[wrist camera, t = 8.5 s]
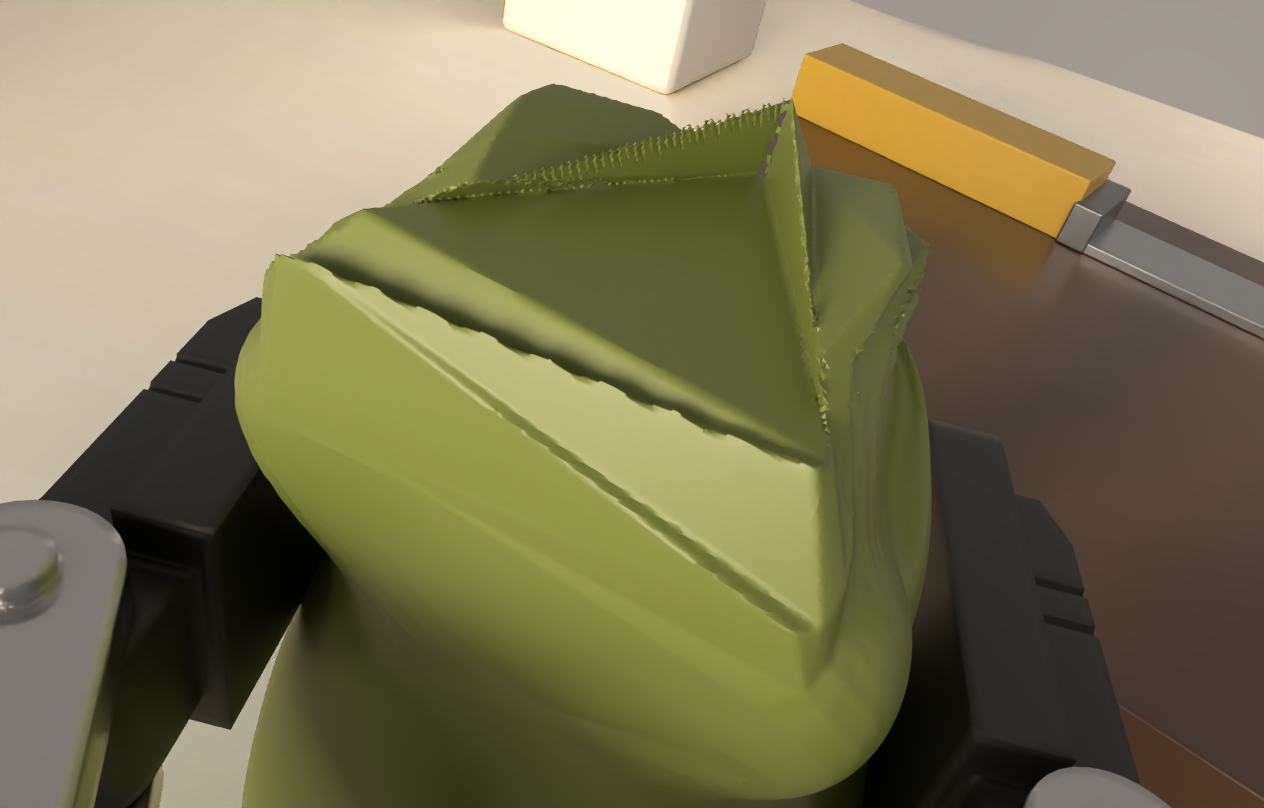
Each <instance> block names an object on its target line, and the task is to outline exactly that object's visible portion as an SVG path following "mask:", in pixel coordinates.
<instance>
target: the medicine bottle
mask: <svg viewBox="0 0 1264 808" xmlns="http://www.w3.org/2000/svg"><path fill="white" fill-rule="evenodd" d="M766 1H767V0H504V9H503V17H502V18H503V24H504V26H505V27H506V28H507V29H508V30H510V31H513V32H515V33H517V34H520V35H522V36H525V37H527V38H529V39H532V40H534V41H537V42H539V43H541V44H544V45H546V46H549V47H551V48H553V49H556V50H558V51H561V52H563V53H565V54H568V55H570V56H573V57H575V58H577V59H580V60H582V61H585V62H587V63H589V64H592V65H594V66H597V67H599V68H601V69H604V70H606V71H609V72H611V73H613V74H616V75H618V76H620V77H623V78H625V79H628V80H630V81H632V82H635V83H637V84H640V85H642V86H644V87H647V88H649V89H652V90H654V91H656V92H659V93H661V94H665V95H667V94H670V93H672V92H674V91H677V90H679V89H681V88H683V87H685V86H687V85H689V84H691V83H693V82H695V81H697V80H699V79H701V78H703V77H706V76H708V75H710V74H712V73H714V72H716V71H718V70H720V69H722V68H724V67H726V66H728V65H730V64H732V63H735V62H737V61H739V60H741V59H743V58H745V57H747V56H749V55H750V54H751V52H752V50H753V48H754V44H755V40H756V37H757V33H758V30H759V26H760V22H761V19H762V15H763V12H764V8H765V4H766Z"/></svg>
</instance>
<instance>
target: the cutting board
mask: <svg viewBox="0 0 1264 808" xmlns="http://www.w3.org/2000/svg"><path fill="white" fill-rule="evenodd" d="M790 101H791V100H788V101H785V103H786V104H789V103H790ZM782 104H783V102H782V103H780V104H778V105H777V107H780V106H781V105H782ZM774 106H775V105H774ZM774 106H771V107H774ZM775 108H776V107H774V108H773V109H772V110H774V109H775ZM760 111H761V110H759V111H757V112H759V114H758V115H760V114H761V112H760ZM786 112H787V111H784V112H783V113H781V114H780V115H779V117H778V120H777V126H778V127H781V126H782V122H783V120H784V118H785V116H786ZM797 116H798V115H797ZM740 118H741V117H739V118H738V119H737V120H739V119H740ZM798 120H799V123H800V127H801V130H802V135H803V138H804V141H805V145H806V147H807V152H808V155H809V159H810V162H811V165H812V166H813V167H818V168H823V169H827V170H832V171H836V172H841V173H846V174H850V175H856V176H859V177H865V178H868V179H872V180H877V181H881V182H884V183H890V184H892V185H893V187H894V189H897V190H896V192H897V193H898V197H899V202H900V206H901V211H902V216H903V221H904V225H905V226H906V225H908V226H909V227H910V228H911V230H912V231H913V233H914V232H915V233H916V234H917V235H918V237H919V238H920V239H921V240H922V239H923V240H924V242H925V243H926V244H929V249H930V251H929V253H928V256H927V259H926V262H927V264H926V267H925V270H926V273H925V276H924V278H923V280H922V281H921V283H920V284H919V286H918V289H919V290H920V289H921V291H920V294H919V298H920V300H919V302H918V305H917V307H916V309H915V311H914V313H913V315H912V317H911V319H910V320H909V322H908V323H907V327H906V330H905V333H904V336H903V338H904V341H905V342H906V343H907V346H908V348H909V349H910V352H911V354H912V357H913V358H914V361H915V364H916V367H917V370H918V373H919V376H920V380H921V383H922V387H923V393H924V398H925V403H926V410H927V418H930V419H934V420H937V421H941V422H945V423H949V424H953V425H957V426H961V427H965V428H968V429H972V430H976V431H980V432H984V433H988V434H992V435H996V436H998V437H999V438H1000V439H1001V441H1002V443H1003V446H1004V450H1005V454H1006V458H1007V463H1008V467H1009V471H1010V476H1011V480H1012V484H1013V488H1014V493H1015V494H1017V495H1021V496H1025V497H1029V498H1032V499H1036V500H1040V501H1041V503H1042V504H1043V505H1044V507H1045V508H1046V509H1047V511H1048V512H1049V514H1050V515H1051V516H1052V518H1053V519H1054V520H1055V522H1056V523H1057V524H1058V526H1059V527H1060V529H1061V530H1062V531H1063V533H1064V534H1065V535H1066V537H1067V538H1068V539H1069V541H1070V542H1071V544H1072V546H1073V549H1074V553H1075V556H1076V560H1077V563H1078V567H1079V570H1080V574H1081V577H1082V581H1083V584H1084V588H1085V590H1084V593H1083V598H1087V599H1088V602H1089V605H1090V609H1091V612H1092V616H1093V619H1094V623H1095V626H1096V628H1095V630H1094V636H1097V637H1099V640H1100V644H1101V647H1102V651H1103V654H1104V658H1105V661H1106V665H1107V668H1108V672H1109V675H1110V679H1111V682H1112V686H1113V689H1114V693H1115V696H1116V700H1117V703H1118V707H1119V710H1120V714H1121V717H1122V721H1123V724H1124V728H1125V731H1126V735H1127V738H1128V742H1129V745H1130V749H1131V752H1132V756H1133V759H1134V763H1135V766H1136V770H1137V773H1138V777H1139V780H1140V783H1141V786H1142V787H1143V788H1145V789H1147V790H1148V791H1150V792H1151V793H1153V794H1155V795H1156V796H1157V797H1159V798H1160V799H1161V800H1162V801H1164V802H1165V803H1166V804H1168V805H1169V806H1170V807H1171V808H1264V339H1262V338H1260V337H1258V336H1256V335H1254V334H1252V333H1250V332H1248V331H1245V330H1243V329H1241V328H1239V327H1237V326H1235V325H1233V324H1231V323H1229V322H1227V321H1224V320H1222V319H1220V318H1218V317H1216V316H1214V315H1212V314H1210V313H1208V312H1206V311H1203V310H1201V309H1199V308H1197V307H1195V306H1193V305H1191V304H1189V303H1187V302H1185V301H1183V300H1180V299H1178V298H1176V297H1174V296H1172V295H1170V294H1168V293H1166V292H1164V291H1162V290H1159V289H1157V288H1155V287H1153V286H1151V285H1149V284H1147V283H1145V282H1143V281H1141V280H1138V279H1136V278H1134V277H1132V276H1130V275H1128V274H1126V273H1124V272H1122V271H1120V270H1117V269H1115V268H1113V267H1111V266H1109V265H1107V264H1105V263H1103V262H1101V261H1099V260H1096V259H1094V258H1092V257H1090V256H1088V255H1086V254H1084V253H1079V252H1077V251H1075V250H1073V249H1071V248H1069V247H1067V246H1065V245H1063V244H1060V243H1058V242H1056V238H1054V237H1052V236H1050V235H1048V234H1046V233H1044V232H1042V231H1039V230H1037V229H1035V228H1033V227H1031V226H1029V225H1027V224H1025V223H1023V222H1021V221H1018V220H1016V219H1014V218H1012V217H1010V216H1008V215H1006V214H1004V213H1002V212H1000V211H997V210H995V209H993V208H991V207H989V206H987V205H985V204H983V203H981V202H979V201H976V200H974V199H972V198H970V197H968V196H966V195H964V194H962V193H960V192H957V191H955V190H953V189H951V188H949V187H947V186H945V185H943V184H941V183H939V182H936V181H934V180H932V179H930V178H928V177H926V176H924V175H922V174H920V173H918V172H915V171H913V170H911V169H909V168H907V167H905V166H903V165H901V164H899V163H897V162H894V161H892V160H890V159H888V158H886V157H884V156H882V155H880V154H878V153H875V152H873V151H871V150H869V149H867V148H865V147H863V146H861V145H859V144H857V143H854V142H852V141H850V140H848V139H846V138H844V137H842V136H840V135H838V134H836V133H833V132H831V131H829V130H827V129H825V128H823V127H821V126H819V125H817V124H815V123H812V122H810V121H808V120H806V119H804V118H802V117H800V116H798ZM725 123H726V122H725ZM725 123H723V124H722V125H724V124H725ZM716 126H718V125H716ZM702 131H703V130H702ZM773 136H774V137H773V140H772V141H771V142H770V143H769V145H768V148H767V151H766V152H767V154H769V155H771V156H772V153H773V148H774V147H776V145H777V141H778V136H779V134H778V133H776V132H775V134H774V135H773ZM771 160H772V159H771ZM767 167H768V163H767V161H766V160H765V161H762V162H761V164H760V167H759V174H760V175H761V176H763V177H766V176H767V174H768V172H767V174H766V173H765V171H766V168H767ZM1116 220H1118V221H1120V222H1122V223H1125V224H1127V225H1129V226H1131V227H1133V228H1136V229H1138V230H1140V231H1142V232H1144V233H1147V234H1149V235H1151V236H1153V237H1155V238H1158V239H1160V240H1162V241H1164V242H1166V243H1169V244H1171V245H1173V246H1175V247H1177V248H1180V249H1182V250H1184V251H1186V252H1188V253H1190V254H1193V255H1195V256H1197V257H1199V258H1201V259H1204V260H1206V261H1208V262H1210V263H1212V264H1215V265H1217V266H1219V267H1221V268H1223V269H1226V270H1228V271H1230V272H1232V273H1234V274H1237V275H1239V276H1241V277H1243V278H1245V279H1248V280H1250V281H1252V282H1254V283H1256V284H1259V285H1261V286H1263V287H1264V263H1263V262H1261V261H1259V260H1256V259H1254V258H1252V257H1250V256H1247V255H1245V254H1243V253H1241V252H1238V251H1236V250H1234V249H1232V248H1229V247H1227V246H1225V245H1223V244H1221V243H1218V242H1216V241H1214V240H1212V239H1209V238H1207V237H1205V236H1203V235H1200V234H1198V233H1196V232H1194V231H1191V230H1189V229H1187V228H1185V227H1182V226H1180V225H1178V224H1176V223H1173V222H1171V221H1169V220H1167V219H1165V218H1162V217H1160V216H1158V215H1156V214H1153V213H1151V212H1149V211H1147V210H1144V209H1142V208H1140V207H1138V206H1135V205H1133V204H1131V203H1129V202H1126V201H1125V203H1124V205H1123V207H1122V208H1121V210H1120V212H1119V214H1118V215H1117V217H1116Z"/></svg>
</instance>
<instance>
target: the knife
mask: <svg viewBox="0 0 1264 808" xmlns="http://www.w3.org/2000/svg"><path fill="white" fill-rule="evenodd" d="M791 99H793V102H794V106H795V109H796V113H797V115H798V116H800V117H802V118H804V119H806V120H808V121H810V122H812V123H815V124H817V125H819V126H821V127H823V128H825V129H827V130H829V131H831V132H833V133H836V134H838V135H840V136H842V137H844V138H846V139H848V140H850V141H852V142H854V143H857V144H859V145H861V146H863V147H865V148H867V149H869V150H871V151H873V152H875V153H878V154H880V155H882V156H884V157H886V158H888V159H890V160H892V161H894V162H897V163H899V164H901V165H903V166H905V167H907V168H909V169H911V170H913V171H915V172H918V173H920V174H922V175H924V176H926V177H928V178H930V179H932V180H934V181H936V182H939V183H941V184H943V185H945V186H947V187H949V188H951V189H953V190H955V191H957V192H960V193H962V194H964V195H966V196H968V197H970V198H972V199H974V200H976V201H979V202H981V203H983V204H985V205H987V206H989V207H991V208H993V209H995V210H997V211H1000V212H1002V213H1004V214H1006V215H1008V216H1010V217H1012V218H1014V219H1016V220H1018V221H1021V222H1023V223H1025V224H1027V225H1029V226H1031V227H1033V228H1035V229H1037V230H1039V231H1042V232H1044V233H1046V234H1048V235H1050V236H1052V237H1054V238H1056V242H1058V243H1060V244H1063V245H1065V246H1067V247H1069V248H1071V249H1073V250H1075V251H1077V252H1079V253H1084V254H1086V255H1088V256H1090V257H1092V258H1094V259H1096V260H1099V261H1101V262H1103V263H1105V264H1107V265H1109V266H1111V267H1113V268H1115V269H1117V270H1120V271H1122V272H1124V273H1126V274H1128V275H1130V276H1132V277H1134V278H1136V279H1138V280H1141V281H1143V282H1145V283H1147V284H1149V285H1151V286H1153V287H1155V288H1157V289H1159V290H1162V291H1164V292H1166V293H1168V294H1170V295H1172V296H1174V297H1176V298H1178V299H1180V300H1183V301H1185V302H1187V303H1189V304H1191V305H1193V306H1195V307H1197V308H1199V309H1201V310H1203V311H1206V312H1208V313H1210V314H1212V315H1214V316H1216V317H1218V318H1220V319H1222V320H1224V321H1227V322H1229V323H1231V324H1233V325H1235V326H1237V327H1239V328H1241V329H1243V330H1245V331H1248V332H1250V333H1252V334H1254V335H1256V336H1258V337H1260V338H1262V339H1264V287H1263V286H1261V285H1259V284H1256V283H1254V282H1252V281H1250V280H1248V279H1245V278H1243V277H1241V276H1239V275H1237V274H1234V273H1232V272H1230V271H1228V270H1226V269H1223V268H1221V267H1219V266H1217V265H1215V264H1212V263H1210V262H1208V261H1206V260H1204V259H1201V258H1199V257H1197V256H1195V255H1193V254H1190V253H1188V252H1186V251H1184V250H1182V249H1180V248H1177V247H1175V246H1173V245H1171V244H1169V243H1166V242H1164V241H1162V240H1160V239H1158V238H1155V237H1153V236H1151V235H1149V234H1147V233H1144V232H1142V231H1140V230H1138V229H1136V228H1133V227H1131V226H1129V225H1127V224H1125V223H1122V222H1120V221H1118V220H1116V217H1117V215H1118V214H1119V212H1120V210H1121V208H1122V207H1123V205H1124V203H1125V201H1126V200H1127V198H1128V196H1129V194H1130V192H1131V190H1130V189H1128V188H1126V187H1124V186H1122V185H1119V184H1117V183H1115V182H1112V181H1110V180H1108V179H1107V178H1108V176H1109V175H1110V173H1111V171H1112V169H1113V167H1114V165H1115V163H1116V162H1115V161H1114V160H1112V159H1110V158H1107V157H1105V156H1103V155H1100V154H1098V153H1096V152H1093V151H1091V150H1089V149H1086V148H1084V147H1082V146H1079V145H1077V144H1075V143H1073V142H1070V141H1068V140H1066V139H1063V138H1061V137H1059V136H1056V135H1054V134H1052V133H1049V132H1047V131H1045V130H1042V129H1040V128H1038V127H1035V126H1033V125H1031V124H1028V123H1026V122H1024V121H1022V120H1019V119H1017V118H1015V117H1012V116H1010V115H1008V114H1005V113H1003V112H1001V111H998V110H996V109H994V108H991V107H989V106H987V105H984V104H982V103H980V102H977V101H975V100H973V99H971V98H968V97H966V96H964V95H961V94H959V93H957V92H954V91H952V90H950V89H947V88H945V87H943V86H940V85H938V84H936V83H933V82H931V81H929V80H926V79H924V78H922V77H920V76H917V75H915V74H913V73H910V72H908V71H906V70H903V69H901V68H899V67H896V66H894V65H892V64H889V63H887V62H885V61H882V60H880V59H878V58H875V57H873V56H871V55H868V54H866V53H864V52H862V51H859V50H857V49H855V48H852V47H850V46H848V45H845V44H839V45H835V46H832V47H828V48H825V49H821V50H818V51H814V52H811V53H807V54H805V56H804V59H803V62H802V66H801V69H800V72H799V75H798V78H797V82H796V85H795V88H794V91H793V95H792V98H791ZM790 102H791V101H790Z"/></svg>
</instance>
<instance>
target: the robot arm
mask: <svg viewBox="0 0 1264 808" xmlns="http://www.w3.org/2000/svg"><path fill="white" fill-rule="evenodd" d="M261 309H262V299H261V298H258V297H256V298H254V299H252V300H250V301H248V302H246V303H244V304H241V305H239V306H237V307H235V308H233V309H231V310H229V311H227V312H225V313H223V314H221V315H219V316H217V317H214V318H212V319H210V320H208V321H207V322H206V324H205V325H204V326H203V327H202V328H201V329H200V330H199V331H198V332H197V333H196V334H195V335H194V336H193V337H192V338H191V339H190V340H189V342H188V343H187V344H186V345H185V346H184V347H183V348H182V349H181V350H180V351H179V352H178V353H177V358H176V360H175V362H174V361H170V362H169V363H168V364H167V365H166V366H165V367H164V368H163V369H162V370H161V371H160V372H159V373H158V374H157V375H156V377H155V378H154V379H153V380H152V381H151V384H150V388H149V389H148V390H145V389H143V390H142V391H141V392H140V394H139V395H138V396H137V397H136V398H135V399H134V400H133V401H132V402H131V403H130V404H129V405H128V406H127V407H126V408H125V409H124V411H123V412H122V413H121V414H120V415H119V416H118V417H117V418H116V419H115V420H114V421H113V422H112V423H111V424H110V425H109V426H108V427H107V429H106V430H105V431H104V432H103V433H102V434H101V435H100V436H99V437H98V438H97V439H96V440H95V441H94V442H93V443H92V444H91V446H90V447H89V448H88V449H87V450H86V451H85V452H84V453H83V454H82V455H81V456H80V457H79V458H78V459H77V460H76V461H75V462H74V464H73V465H72V466H71V467H70V468H69V469H68V470H67V471H66V472H65V473H64V474H63V475H62V476H61V477H60V478H59V479H58V481H57V482H56V483H55V484H54V485H53V486H52V487H51V488H50V489H49V490H48V491H47V492H46V493H45V494H44V495H43V496H42V497H41V498H40V499H39V500H27V501H14V502H8V503H2V504H0V808H159V807H160V801H161V794H162V788H163V767H162V763H163V762H164V760H165V758H166V757H167V755H168V754H169V752H170V750H171V749H172V747H173V745H174V744H175V742H176V740H177V739H178V737H179V735H180V734H181V732H182V730H183V729H184V727H185V725H186V724H187V722H188V720H189V719H191V720H195V721H199V722H203V723H206V724H210V725H214V726H218V727H222V728H226V729H230V730H231V728H232V726H233V724H234V723H235V721H236V719H237V717H238V715H239V714H240V712H241V710H242V708H243V706H244V705H245V703H246V701H247V699H248V697H249V696H250V694H251V692H252V690H253V688H254V687H255V685H256V683H257V681H258V679H259V678H260V676H261V674H262V672H263V671H264V669H265V667H266V665H267V663H268V662H269V660H270V658H271V656H272V654H273V653H274V651H275V649H276V647H277V645H278V644H279V642H280V640H281V638H282V636H283V635H284V633H285V631H286V629H287V627H288V626H289V624H290V622H291V620H292V619H293V617H294V615H295V613H296V611H297V610H298V608H299V606H300V604H301V602H302V600H303V597H304V595H305V592H306V590H307V588H308V585H309V583H310V581H311V579H312V577H313V575H314V573H315V571H316V570H317V568H318V566H319V565H320V563H321V561H322V560H323V558H324V557H325V555H326V552H325V550H324V549H323V548H322V547H321V546H320V545H319V543H318V542H317V541H316V540H315V539H314V538H313V537H312V535H311V534H310V533H309V532H308V530H307V529H306V528H305V527H304V526H303V525H302V524H301V523H300V522H299V521H298V519H297V518H296V517H295V515H294V514H293V513H292V511H291V510H290V509H289V508H288V507H287V505H286V504H285V503H284V502H283V501H282V499H281V498H280V497H279V495H278V494H277V492H276V490H275V489H274V487H273V485H272V484H271V482H270V481H269V480H268V479H267V478H266V477H265V476H264V474H263V472H262V471H261V469H260V467H259V465H258V464H257V462H256V461H255V459H254V457H253V455H252V453H251V451H250V448H249V446H248V443H247V440H246V438H245V436H244V434H243V431H242V428H241V426H240V423H239V420H238V416H237V412H236V409H235V385H234V381H235V372H236V365H237V363H238V358H239V354H240V352H241V349H242V347H243V345H244V343H245V341H246V339H247V337H248V335H249V333H250V331H251V330H252V329H253V327H254V326H255V325H256V323H257V322H258V321H259V320H260V318H261ZM928 427H929V440H930V457H931V480H932V515H931V532H930V543H929V552H928V560H927V567H926V573H925V579H924V584H923V589H922V593H921V598H920V602H919V605H918V609H917V613H916V616H915V619H914V622H913V626H912V657H911V666H910V673H909V678H908V683H907V688H906V691H905V695H904V698H903V701H902V704H901V707H900V710H899V712H898V715H897V717H896V719H895V721H894V723H893V725H892V727H891V729H890V731H889V733H888V734H887V736H886V737H885V739H884V740H883V742H882V743H881V745H880V746H879V748H878V749H877V750H876V751H875V753H874V754H873V755H872V756H871V757H870V758H869V759H868V763H867V774H866V782H865V790H864V796H863V802H862V808H1171V807H1170V806H1169V805H1168V804H1166V803H1165V802H1164V801H1162V800H1161V799H1160V798H1159V797H1157V796H1156V795H1155V794H1153V793H1151V792H1150V791H1148V790H1147V789H1145V788H1143V787H1142V786H1141V783H1140V780H1139V777H1138V773H1137V770H1136V766H1135V763H1134V759H1133V756H1132V752H1131V749H1130V745H1129V742H1128V738H1127V735H1126V731H1125V728H1124V724H1123V721H1122V717H1121V714H1120V710H1119V707H1118V703H1117V700H1116V696H1115V693H1114V689H1113V686H1112V682H1111V679H1110V675H1109V672H1108V668H1107V665H1106V661H1105V658H1104V654H1103V651H1102V647H1101V644H1100V640H1099V637H1097V636H1094V630H1095V628H1096V626H1095V623H1094V619H1093V616H1092V612H1091V609H1090V605H1089V602H1088V599H1087V598H1083V593H1084V590H1085V588H1084V584H1083V581H1082V577H1081V574H1080V570H1079V567H1078V563H1077V560H1076V556H1075V553H1074V549H1073V546H1072V544H1071V542H1070V541H1069V539H1068V538H1067V537H1066V535H1065V534H1064V533H1063V531H1062V530H1061V529H1060V527H1059V526H1058V524H1057V523H1056V522H1055V520H1054V519H1053V518H1052V516H1051V515H1050V514H1049V512H1048V511H1047V509H1046V508H1045V507H1044V505H1043V504H1042V503H1041V501H1040V500H1036V499H1032V498H1029V497H1025V496H1021V495H1017V494H1015V493H1014V488H1013V484H1012V480H1011V476H1010V471H1009V467H1008V463H1007V458H1006V454H1005V450H1004V446H1003V443H1002V441H1001V439H1000V438H999V437H998V436H996V435H992V434H988V433H984V432H980V431H976V430H972V429H968V428H965V427H961V426H957V425H953V424H949V423H945V422H941V421H937V420H934V419H930V418H928Z"/></svg>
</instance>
